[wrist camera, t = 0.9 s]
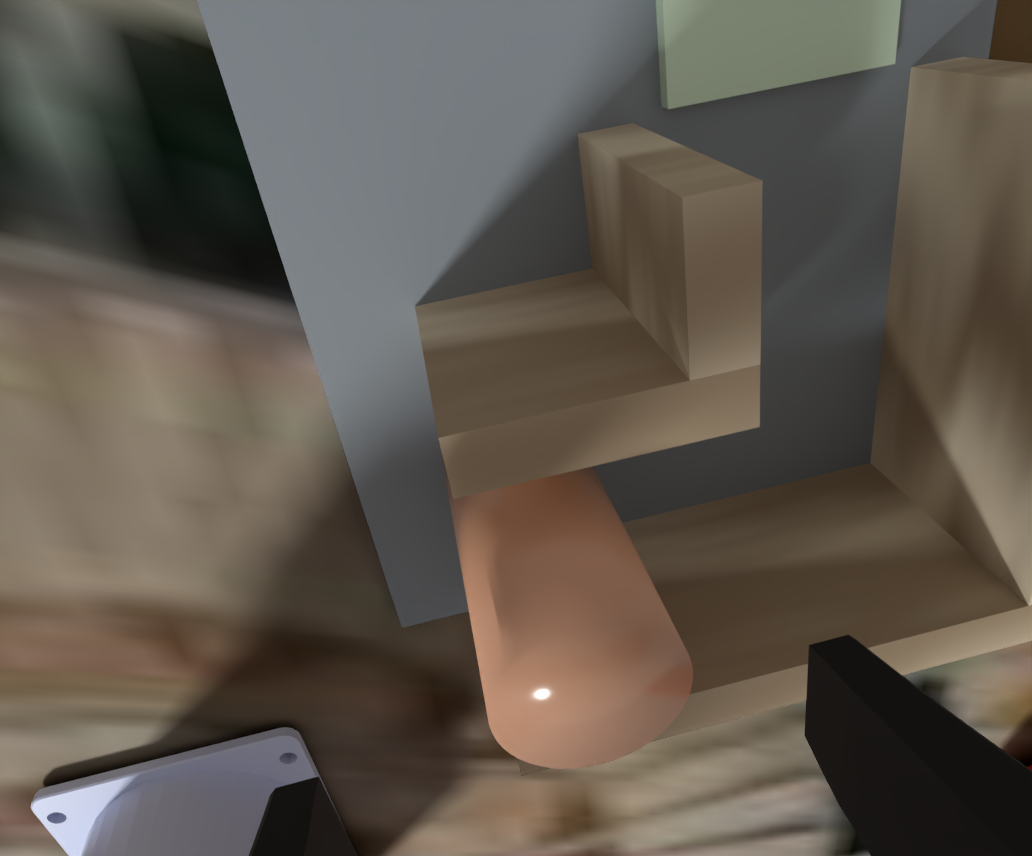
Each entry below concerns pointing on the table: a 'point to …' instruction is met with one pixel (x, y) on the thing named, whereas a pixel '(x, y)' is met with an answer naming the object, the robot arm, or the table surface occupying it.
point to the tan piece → (736, 399)
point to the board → (553, 223)
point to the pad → (767, 44)
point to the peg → (566, 623)
